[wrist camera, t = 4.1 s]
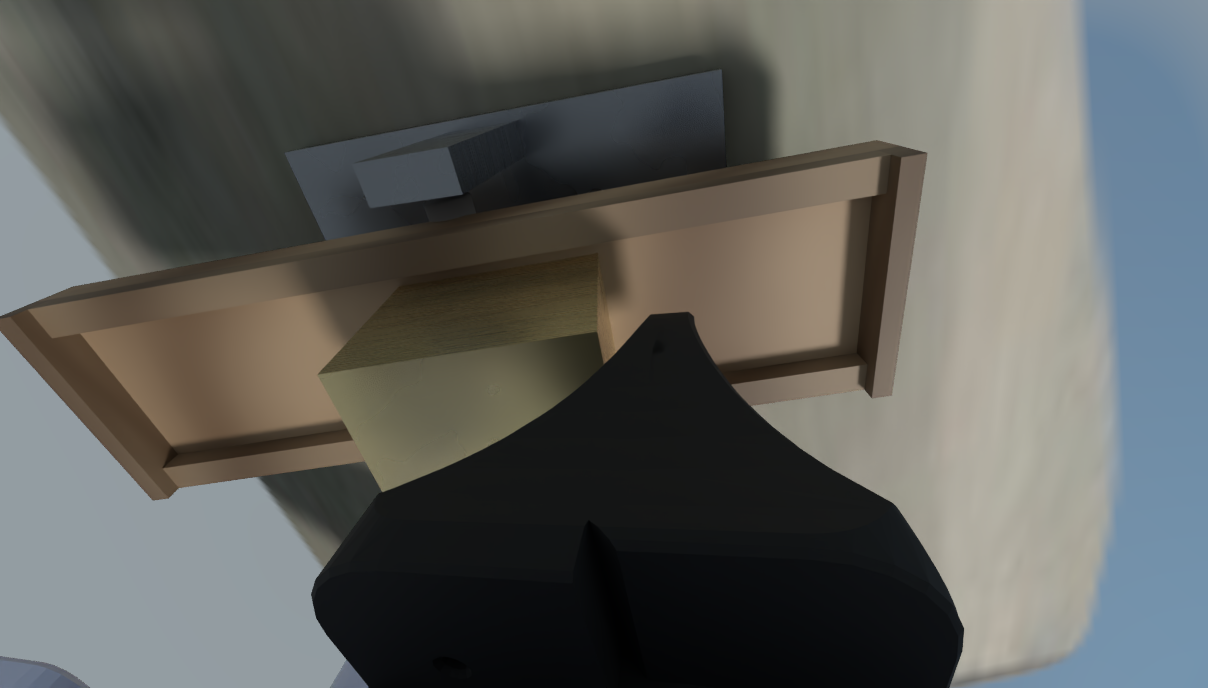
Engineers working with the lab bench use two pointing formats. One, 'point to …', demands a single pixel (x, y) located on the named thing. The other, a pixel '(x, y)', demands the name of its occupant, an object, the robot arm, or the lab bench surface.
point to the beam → (473, 245)
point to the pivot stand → (517, 154)
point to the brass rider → (467, 362)
